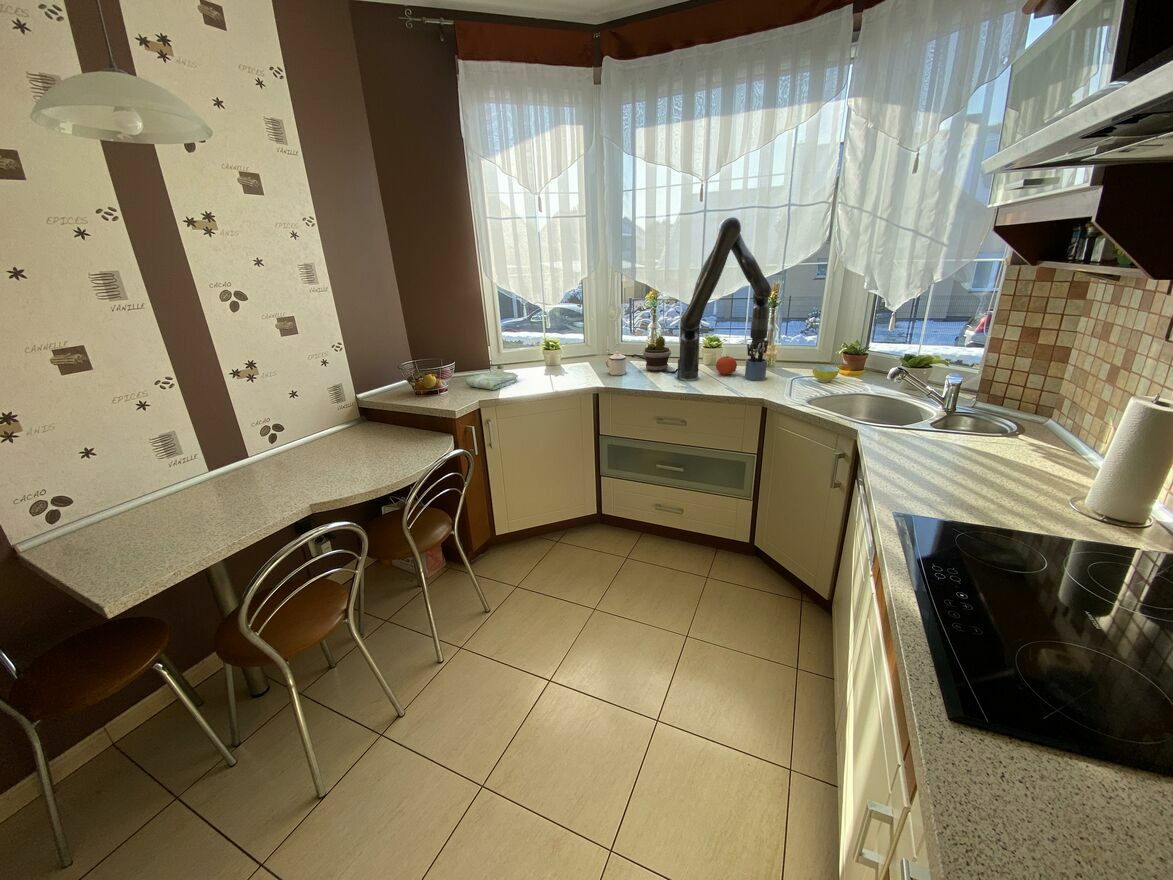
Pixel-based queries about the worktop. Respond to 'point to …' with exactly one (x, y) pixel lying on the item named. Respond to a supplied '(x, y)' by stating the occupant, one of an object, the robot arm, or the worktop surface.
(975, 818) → the worktop surface
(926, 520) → the worktop surface
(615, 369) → the teacup with lid
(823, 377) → the bowl
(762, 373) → the cup
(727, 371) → the tomato
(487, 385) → the towel
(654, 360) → the flowerpot
